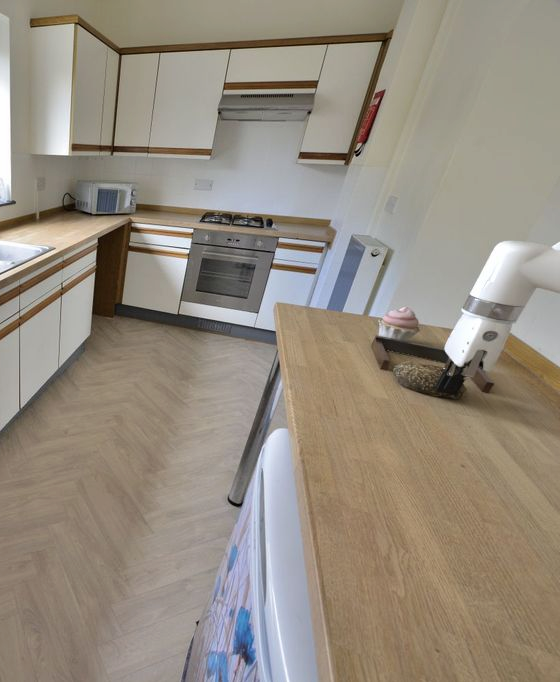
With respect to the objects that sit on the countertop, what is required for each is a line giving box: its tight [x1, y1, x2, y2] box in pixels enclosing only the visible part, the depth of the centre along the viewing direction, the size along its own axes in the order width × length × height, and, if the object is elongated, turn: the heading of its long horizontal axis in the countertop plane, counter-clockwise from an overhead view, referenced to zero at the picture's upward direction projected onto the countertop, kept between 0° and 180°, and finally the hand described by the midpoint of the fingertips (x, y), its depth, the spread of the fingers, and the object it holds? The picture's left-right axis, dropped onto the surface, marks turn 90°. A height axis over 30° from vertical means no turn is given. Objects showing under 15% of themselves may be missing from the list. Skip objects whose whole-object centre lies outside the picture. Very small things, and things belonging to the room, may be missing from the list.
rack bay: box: [371, 334, 495, 394], centre depth 98 cm, size 19×16×3 cm
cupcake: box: [377, 306, 421, 342], centre depth 111 cm, size 9×9×10 cm
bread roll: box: [392, 360, 468, 400], centre depth 90 cm, size 13×12×5 cm
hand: (444, 391), depth 84 cm, fingers closed
